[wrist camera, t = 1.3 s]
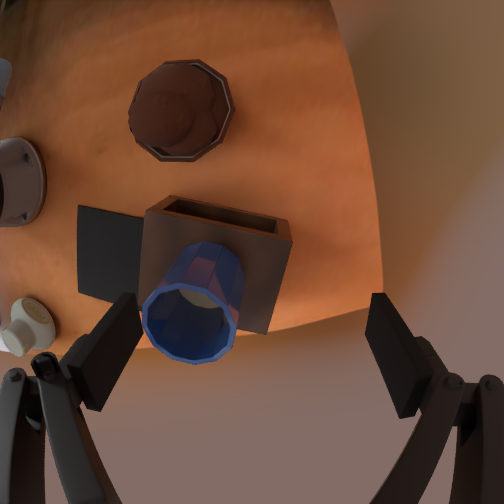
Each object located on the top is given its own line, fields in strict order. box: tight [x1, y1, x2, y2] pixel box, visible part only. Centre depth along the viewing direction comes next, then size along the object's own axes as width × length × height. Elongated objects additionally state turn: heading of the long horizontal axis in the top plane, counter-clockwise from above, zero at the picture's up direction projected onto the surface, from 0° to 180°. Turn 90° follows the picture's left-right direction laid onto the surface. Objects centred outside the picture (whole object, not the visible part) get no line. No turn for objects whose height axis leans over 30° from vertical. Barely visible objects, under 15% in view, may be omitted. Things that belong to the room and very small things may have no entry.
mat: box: [77, 205, 144, 311], centre depth 44 cm, size 13×15×1 cm
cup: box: [142, 241, 245, 365], centre depth 30 cm, size 8×8×10 cm
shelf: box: [138, 195, 293, 335], centre depth 38 cm, size 16×12×9 cm
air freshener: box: [2, 298, 56, 357], centre depth 45 cm, size 11×8×10 cm
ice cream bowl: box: [128, 59, 235, 162], centre depth 30 cm, size 11×11×15 cm
